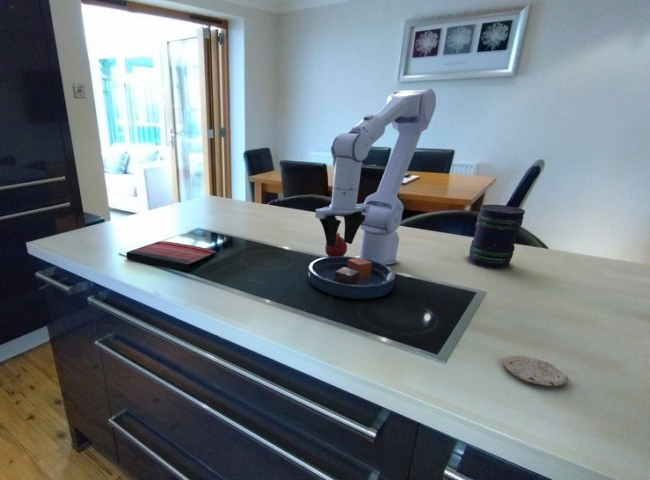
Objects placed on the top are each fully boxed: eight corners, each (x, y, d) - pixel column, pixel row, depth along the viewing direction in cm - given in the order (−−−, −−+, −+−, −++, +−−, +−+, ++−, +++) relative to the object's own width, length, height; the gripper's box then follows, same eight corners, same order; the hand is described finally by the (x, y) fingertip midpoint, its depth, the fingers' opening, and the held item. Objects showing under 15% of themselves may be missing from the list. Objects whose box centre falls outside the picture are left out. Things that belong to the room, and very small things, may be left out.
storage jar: (470, 266, 104) (484, 211, 98) (464, 254, 112) (477, 203, 107) (514, 271, 101) (531, 214, 95) (504, 259, 109) (520, 206, 103)
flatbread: (509, 381, 59) (511, 376, 59) (497, 354, 65) (498, 349, 65) (575, 394, 56) (577, 388, 56) (555, 365, 63) (557, 359, 62)
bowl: (352, 264, 106) (354, 251, 104) (411, 291, 89) (413, 277, 88) (292, 275, 98) (293, 262, 97) (344, 307, 82) (346, 292, 81)
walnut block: (342, 282, 93) (344, 266, 91) (357, 287, 90) (360, 271, 88) (333, 287, 90) (335, 271, 89) (348, 292, 87) (351, 276, 86)
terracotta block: (358, 272, 99) (360, 257, 97) (370, 277, 95) (372, 262, 94) (346, 274, 97) (348, 259, 96) (357, 280, 94) (359, 264, 92)
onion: (346, 264, 105) (349, 236, 102) (324, 263, 106) (327, 235, 103) (344, 257, 110) (347, 230, 107) (323, 256, 111) (326, 229, 108)
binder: (188, 263, 100) (125, 251, 109) (188, 272, 100) (126, 259, 109) (218, 248, 113) (160, 239, 122) (218, 256, 114) (160, 246, 123)
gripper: (357, 183, 96) (351, 236, 101) (309, 187, 90) (305, 243, 95) (379, 187, 90) (371, 243, 95) (328, 192, 84) (322, 252, 89)
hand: (339, 244), depth 95 cm, fingers open, 5 cm apart
